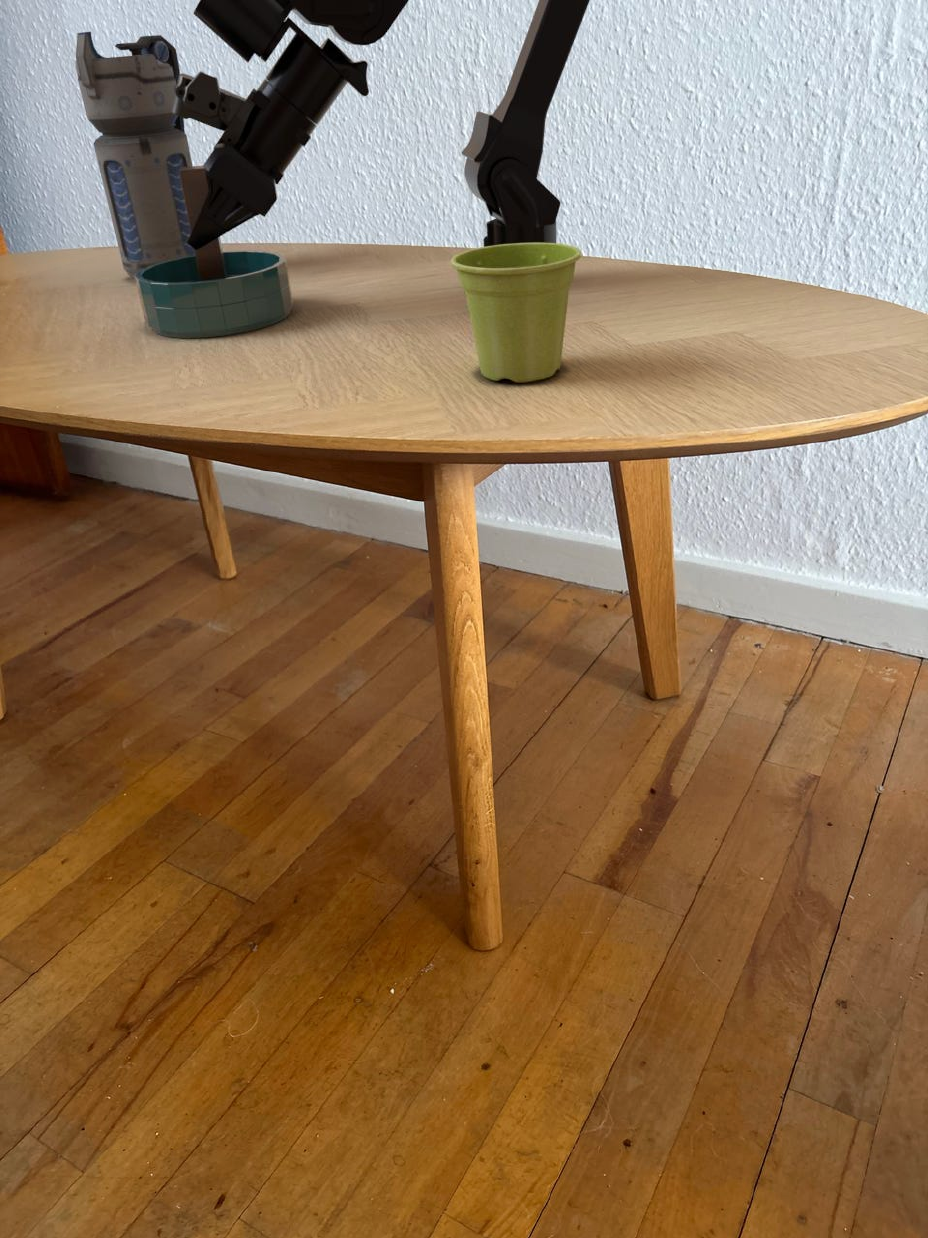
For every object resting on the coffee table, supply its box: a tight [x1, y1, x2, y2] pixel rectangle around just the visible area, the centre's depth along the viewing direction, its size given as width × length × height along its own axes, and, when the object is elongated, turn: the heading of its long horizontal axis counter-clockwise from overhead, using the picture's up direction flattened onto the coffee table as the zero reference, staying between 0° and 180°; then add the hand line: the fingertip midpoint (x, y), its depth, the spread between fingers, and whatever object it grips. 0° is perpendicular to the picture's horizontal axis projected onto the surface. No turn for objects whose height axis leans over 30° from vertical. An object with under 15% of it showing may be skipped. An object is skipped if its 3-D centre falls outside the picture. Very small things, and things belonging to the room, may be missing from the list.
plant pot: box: [450, 243, 582, 383], centre depth 72 cm, size 9×9×9 cm
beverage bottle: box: [75, 31, 195, 279], centre depth 109 cm, size 10×13×25 cm
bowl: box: [134, 249, 294, 339], centre depth 94 cm, size 14×14×5 cm
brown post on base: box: [179, 165, 228, 281], centre depth 91 cm, size 5×5×13 cm
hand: (192, 243), depth 91 cm, fingers closed on brown post on base, 2 cm apart
